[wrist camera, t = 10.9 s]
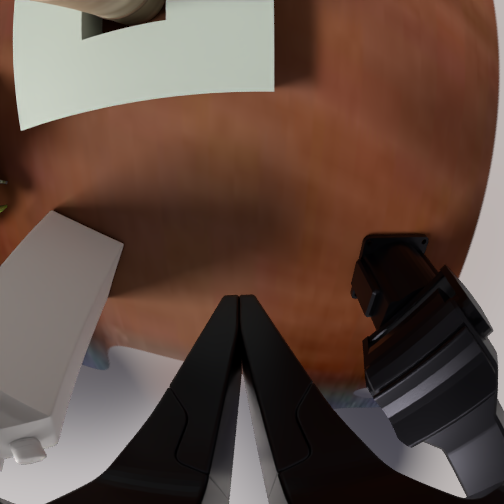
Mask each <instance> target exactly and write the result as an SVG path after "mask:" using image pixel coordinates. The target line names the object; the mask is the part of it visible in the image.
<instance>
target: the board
mask: <svg viewBox="0 0 504 504" xmlns="http://www.w3.org/2000/svg"><path fill="white" fill-rule="evenodd" d="M13 63H14V79H15V91H16V100H17V108H18V115H19V122H20V128H21V131H22V130H25V129H28V128H31V127H34V126H37V125H40V124H43V123H47V122H50V121H53V120H57V119H60V118H64V117H67V116H71V115H75V114H79V113H83V112H87V111H91V110H96V109H100V108H105V107H110V106H115V105H120V104H125V103H131V102H137V101H143V100H150V99H157V98H164V97H173V96H182V95H192V94H205V93H221V92H251V91H271V92H274V0H166V20H162V21H156V22H151V23H146V24H141V25H136V26H131V27H127V28H123V29H119V30H115V31H111V32H107V33H104V34H103V31H102V18H100V17H98V16H96V15H93V14H89V13H86V12H82V11H78V10H74V9H70V8H66V7H61V6H57V5H52V4H47V3H42V2H36V1H30V0H15V6H14V22H13Z"/></svg>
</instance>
